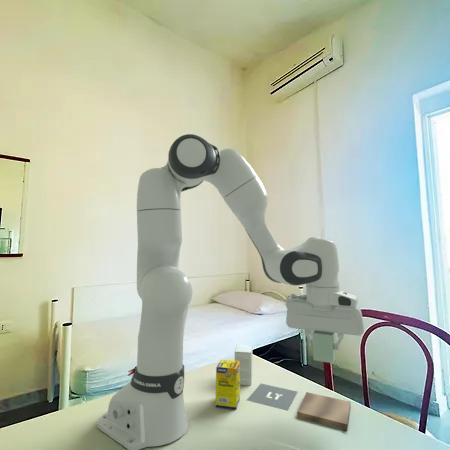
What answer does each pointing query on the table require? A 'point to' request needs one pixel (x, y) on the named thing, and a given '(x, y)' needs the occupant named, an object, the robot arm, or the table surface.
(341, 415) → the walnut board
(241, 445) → the table surface
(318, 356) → the sage block
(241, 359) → the small box
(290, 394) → the gray tile
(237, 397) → the supplement box
